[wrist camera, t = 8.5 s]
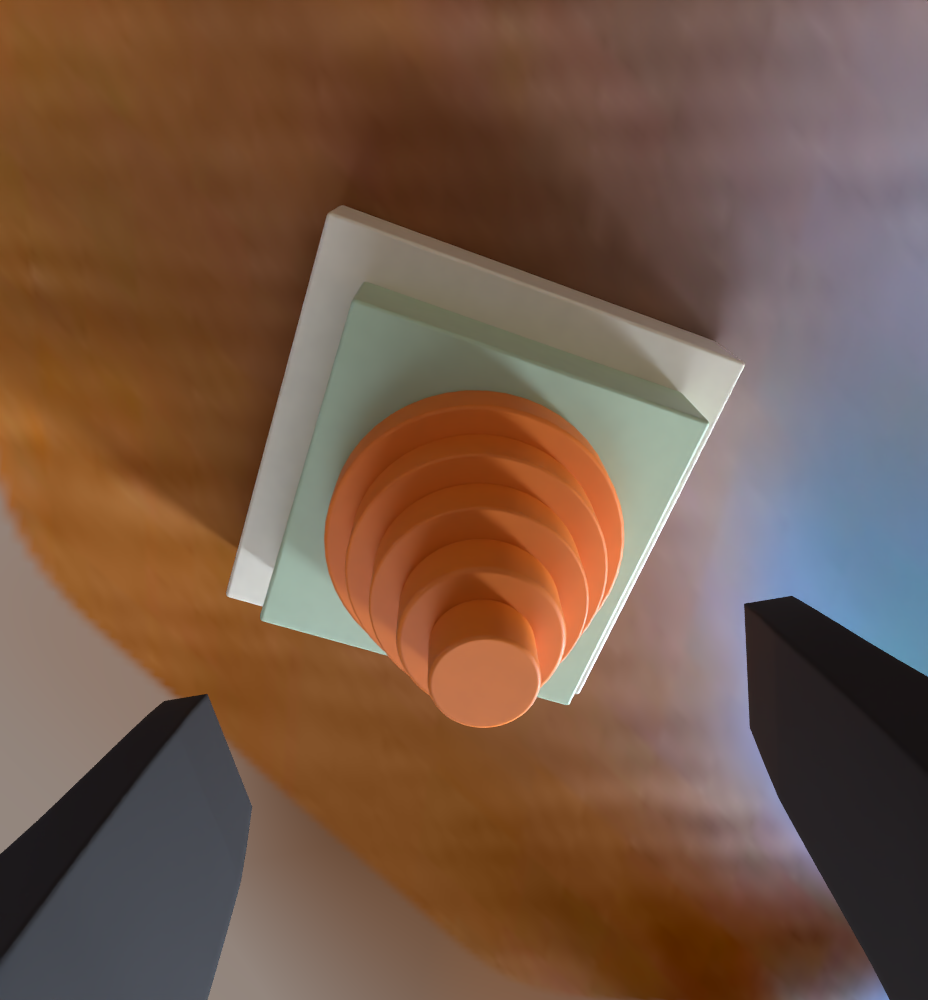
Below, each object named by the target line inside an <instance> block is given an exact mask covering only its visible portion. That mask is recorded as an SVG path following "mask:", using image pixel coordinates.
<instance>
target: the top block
mask: <svg viewBox="0 0 928 1000" xmlns="http://www.w3.org/2000/svg"><path fill="white" fill-rule="evenodd" d="M465 390H480V391H493V392H501V393H507V394H511V395H514V396H518V397H522V398H525V399H528V400H530V401H533V402H535V403H538V404H540V405H542V406H544V407H546V408H548V409H549V410H551V411H553V412H555V413H556V414H558V415H560V416H561V417H562V418H564V419H565V420H566V421H567V422H569V423H570V424H571V425H573V426H574V427H575V428H576V429H577V430H578V431H579V432H580V433H581V434H582V435H583V436H584V437H585V438H586V439H587V440H588V442H589V443H590V445H591V446H592V447H593V449H594V450H595V451H596V453H597V454H598V456H599V458H600V460H601V462H602V464H603V465H604V467H605V469H606V471H607V473H608V475H609V477H610V479H611V481H612V483H613V485H614V487H615V490H616V493H617V496H618V499H619V502H620V505H621V510H622V515H623V521H624V548H623V557H622V561H621V565H620V569H619V573H618V575H617V578H616V580H615V583H614V585H613V588H612V590H611V592H610V594H609V595H608V597H607V599H606V600H605V602H604V604H603V606H602V607H601V608H600V610H599V611H598V612H597V613H596V615H595V616H594V618H593V619H592V621H591V623H590V625H589V626H588V627H587V629H586V630H585V631H584V633H583V634H582V635H581V636H580V638H579V639H578V641H577V642H576V644H575V646H574V648H573V649H572V650H571V651H570V653H569V654H568V655H567V657H566V658H565V659H564V660H563V661H562V662H561V663H560V664H559V665H558V667H557V669H556V670H555V672H554V673H553V675H552V676H551V677H550V679H549V680H548V681H547V682H546V683H545V684H544V685H543V686H542V687H541V688H540V690H539V693H538V695H537V697H539V698H543V699H546V700H550V701H554V702H557V703H561V704H565V705H568V704H569V703H570V701H571V699H572V697H573V695H574V693H575V691H576V689H577V687H578V685H579V684H580V682H581V680H582V678H583V676H584V674H585V672H586V670H587V668H588V666H589V664H590V662H591V660H592V658H593V656H594V654H595V652H596V650H597V648H598V646H599V644H600V642H601V640H602V638H603V636H604V634H605V632H606V630H607V628H608V626H609V624H610V622H611V620H612V618H613V616H614V614H615V612H616V610H617V608H618V606H619V604H620V602H621V600H622V598H623V596H624V594H625V592H626V590H627V588H628V586H629V584H630V582H631V580H632V578H633V576H634V574H635V572H636V570H637V568H638V566H639V564H640V562H641V560H642V558H643V556H644V554H645V552H646V550H647V548H648V546H649V544H650V542H651V540H652V538H653V536H654V534H655V532H656V530H657V528H658V526H659V524H660V522H661V520H662V518H663V516H664V514H665V512H666V510H667V508H668V506H669V504H670V502H671V500H672V498H673V496H674V494H675V492H676V490H677V488H678V486H679V484H680V482H681V480H682V478H683V476H684V474H685V472H686V470H687V468H688V466H689V464H690V462H691V460H692V458H693V456H694V454H695V452H696V450H697V448H698V446H699V444H700V442H701V440H702V439H703V437H704V435H705V433H706V431H707V429H708V427H709V421H708V420H707V419H706V418H705V417H704V416H703V415H702V414H701V413H700V412H699V411H698V410H697V409H696V408H695V407H694V406H693V404H692V403H691V402H690V401H689V400H688V399H687V398H686V397H685V396H684V395H683V394H682V393H681V392H679V391H676V390H673V389H670V388H667V387H665V386H662V385H659V384H656V383H653V382H650V381H648V380H645V379H642V378H639V377H636V376H633V375H631V374H628V373H625V372H622V371H619V370H616V369H613V368H611V367H608V366H605V365H602V364H599V363H596V362H594V361H591V360H588V359H585V358H582V357H579V356H576V355H574V354H571V353H568V352H565V351H562V350H559V349H557V348H554V347H551V346H548V345H545V344H542V343H540V342H537V341H534V340H531V339H528V338H525V337H522V336H520V335H517V334H514V333H511V332H508V331H505V330H503V329H500V328H497V327H494V326H491V325H488V324H485V323H483V322H480V321H477V320H474V319H471V318H468V317H466V316H463V315H460V314H457V313H454V312H451V311H449V310H446V309H443V308H440V307H437V306H434V305H431V304H429V303H426V302H423V301H420V300H417V299H414V298H412V297H409V296H406V295H403V294H400V293H397V292H394V291H392V290H389V289H386V288H383V287H380V286H377V285H375V284H372V283H369V282H363V284H362V285H361V286H360V288H359V290H358V291H357V293H356V295H355V296H354V298H353V300H352V302H351V305H350V308H349V312H348V315H347V319H346V322H345V325H344V329H343V332H342V336H341V339H340V343H339V346H338V350H337V353H336V356H335V360H334V363H333V367H332V370H331V374H330V377H329V380H328V384H327V387H326V391H325V394H324V398H323V401H322V405H321V408H320V411H319V415H318V418H317V422H316V425H315V429H314V432H313V435H312V439H311V442H310V446H309V449H308V453H307V456H306V460H305V463H304V466H303V470H302V473H301V477H300V480H299V484H298V487H297V490H296V494H295V497H294V501H293V504H292V508H291V511H290V515H289V518H288V521H287V525H286V528H285V532H284V535H283V539H282V542H281V545H280V549H279V552H278V556H277V559H276V563H275V566H274V570H273V573H272V576H271V580H270V583H269V587H268V590H267V594H266V597H265V600H264V604H263V607H262V611H261V614H260V619H261V620H262V621H264V622H268V623H272V624H275V625H279V626H282V627H286V628H290V629H293V630H297V631H301V632H304V633H308V634H311V635H315V636H319V637H322V638H326V639H329V640H333V641H337V642H340V643H344V644H348V645H351V646H355V647H358V648H362V649H366V650H369V651H373V652H376V653H380V654H384V655H387V654H386V653H385V651H383V650H382V649H381V648H380V647H379V646H378V645H377V644H376V643H375V642H374V641H373V640H372V639H371V638H370V636H369V635H368V634H367V633H366V632H365V631H364V630H363V629H362V628H361V626H360V625H359V624H358V623H357V622H356V621H355V620H354V619H353V618H352V616H351V615H350V614H349V612H348V611H347V609H346V608H345V607H344V605H343V604H342V602H341V600H340V598H339V596H338V594H337V593H336V591H335V588H334V586H333V583H332V580H331V578H330V575H329V572H328V567H327V563H326V558H325V547H324V533H325V521H326V517H327V512H328V508H329V504H330V501H331V498H332V494H333V491H334V488H335V485H336V483H337V480H338V478H339V475H340V473H341V470H342V468H343V466H344V465H345V463H346V461H347V459H348V458H349V456H350V454H351V453H352V451H353V450H354V449H355V447H356V446H357V445H358V444H359V442H360V441H361V440H362V439H363V438H364V437H365V436H366V435H367V434H368V433H369V432H370V431H371V430H372V429H373V428H374V427H375V426H376V425H377V424H379V423H380V422H382V421H383V420H384V419H386V418H387V417H388V416H390V415H391V414H393V413H395V412H396V411H398V410H400V409H402V408H404V407H405V406H407V405H409V404H412V403H414V402H417V401H420V400H422V399H425V398H428V397H431V396H435V395H439V394H443V393H449V392H457V391H465ZM387 656H388V655H387Z"/></svg>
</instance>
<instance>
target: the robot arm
mask: <svg viewBox="0 0 928 1000" xmlns="http://www.w3.org/2000/svg"><path fill="white" fill-rule="evenodd" d="M744 608H745V630H746V652H747V674H748V697H749V719H750V729H751V731H752V734H753V736H754V739H755V742H756V744H757V747H758V749H759V752H760V754H761V757H762V759H763V762H764V764H765V767H766V769H767V771H768V774H769V776H770V779H771V781H772V783H773V786H774V788H775V790H776V793H777V795H778V797H779V799H780V801H781V803H782V805H783V807H784V809H785V810H786V812H787V814H788V816H789V818H790V820H791V821H792V823H793V825H794V827H795V829H796V830H797V832H798V834H799V836H800V838H801V839H802V841H803V843H804V845H805V847H806V848H807V850H808V852H809V854H810V856H811V857H812V859H813V861H814V863H815V865H816V866H817V868H818V870H819V872H820V873H821V875H822V877H823V879H824V881H825V882H826V884H827V886H828V888H829V889H830V891H831V893H832V895H833V897H834V898H835V900H836V902H837V904H838V905H839V907H840V909H841V911H842V913H843V914H844V916H845V918H846V920H847V921H848V923H849V925H850V927H851V929H852V930H853V932H854V934H855V936H856V938H857V939H858V941H859V943H860V945H861V946H862V948H863V950H864V952H865V954H866V955H867V957H868V959H869V961H870V962H871V964H872V966H873V968H874V970H875V972H876V974H877V976H878V978H879V980H880V982H881V984H882V986H883V988H884V990H885V991H886V993H887V995H888V997H889V999H890V1000H928V677H927V676H925V675H924V674H922V673H920V672H918V671H917V670H915V669H913V668H911V667H910V666H908V665H906V664H905V663H903V662H901V661H899V660H898V659H896V658H894V657H893V656H891V655H889V654H888V653H886V652H884V651H883V650H881V649H879V648H878V647H876V646H874V645H873V644H871V643H869V642H868V641H866V640H864V639H863V638H861V637H859V636H858V635H856V634H854V633H853V632H851V631H850V630H848V629H846V628H845V627H843V626H841V625H840V624H838V623H837V622H835V621H833V620H832V619H830V618H828V617H827V616H825V615H824V614H822V613H820V612H819V611H817V610H815V609H814V608H812V607H810V606H809V605H807V604H805V603H804V602H802V601H800V600H798V599H797V598H795V597H793V596H788V597H782V598H776V599H770V600H764V601H758V602H752V603H746V604H744ZM251 810H252V805H251V803H250V800H249V798H248V795H247V793H246V790H245V788H244V785H243V783H242V780H241V778H240V775H239V773H238V770H237V767H236V765H235V762H234V760H233V757H232V755H231V752H230V750H229V747H228V745H227V742H226V740H225V737H224V735H223V732H222V730H221V727H220V725H219V722H218V720H217V717H216V715H215V712H214V710H213V707H212V705H211V702H210V700H209V697H208V695H207V694H204V695H198V696H192V697H186V698H180V699H174V700H168V701H164V702H162V703H161V704H160V705H159V706H158V707H156V708H155V709H154V710H153V711H152V712H151V713H149V714H148V715H147V716H146V717H145V718H144V719H143V720H142V721H141V722H140V723H139V724H137V725H136V727H134V728H133V729H132V730H131V731H130V732H129V733H128V734H127V735H126V736H125V737H124V738H123V739H122V740H121V741H120V742H119V743H118V744H117V745H116V746H115V747H113V748H112V750H110V751H109V752H108V753H107V754H106V755H105V756H104V757H103V758H102V759H101V760H100V761H99V762H98V763H97V764H96V765H95V766H94V767H93V768H92V769H91V770H90V771H89V772H88V773H87V774H86V775H85V776H84V777H83V778H82V779H80V780H79V782H77V783H76V784H75V785H74V786H73V787H72V788H71V789H70V790H69V791H68V792H67V793H66V794H65V795H64V796H63V797H62V798H61V799H60V800H59V801H58V802H57V803H56V804H55V805H54V806H53V807H52V808H50V809H49V810H48V811H47V812H46V814H44V815H43V816H42V817H41V818H40V819H39V820H38V821H37V822H36V823H34V824H33V825H32V826H31V827H30V828H29V829H28V830H27V831H26V832H25V833H23V834H22V835H21V836H20V837H19V838H18V839H17V840H16V841H14V842H13V843H12V844H11V845H10V846H9V847H8V848H7V849H6V850H4V851H3V852H2V853H1V854H0V1000H207V999H208V996H209V992H210V989H211V985H212V982H213V979H214V975H215V972H216V968H217V965H218V961H219V958H220V954H221V951H222V947H223V944H224V941H225V937H226V933H227V930H228V926H229V922H230V919H231V915H232V912H233V908H234V905H235V901H236V897H237V894H238V890H239V886H240V882H241V877H242V871H243V866H244V859H245V854H246V847H247V840H248V833H249V825H250V817H251Z"/></svg>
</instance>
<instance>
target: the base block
mask: <svg viewBox="0 0 928 1000" xmlns="http://www.w3.org/2000/svg"><path fill="white" fill-rule="evenodd" d="M363 282H369V283H372V284H375V285H377V286H380V287H383V288H386V289H389V290H392V291H394V292H397V293H400V294H403V295H406V296H409V297H412V298H414V299H417V300H420V301H423V302H426V303H429V304H431V305H434V306H437V307H440V308H443V309H446V310H449V311H451V312H454V313H457V314H460V315H463V316H466V317H468V318H471V319H474V320H477V321H480V322H483V323H485V324H488V325H491V326H494V327H497V328H500V329H503V330H505V331H508V332H511V333H514V334H517V335H520V336H522V337H525V338H528V339H531V340H534V341H537V342H540V343H542V344H545V345H548V346H551V347H554V348H557V349H559V350H562V351H565V352H568V353H571V354H574V355H576V356H579V357H582V358H585V359H588V360H591V361H594V362H596V363H599V364H602V365H605V366H608V367H611V368H613V369H616V370H619V371H622V372H625V373H628V374H631V375H633V376H636V377H639V378H642V379H645V380H648V381H650V382H653V383H656V384H659V385H662V386H665V387H667V388H670V389H673V390H676V391H679V392H681V393H682V394H683V395H684V396H685V397H686V398H687V399H688V400H689V401H690V402H691V403H692V404H693V406H694V407H695V408H696V409H697V410H698V411H699V412H700V413H701V414H702V415H703V416H704V417H705V418H706V419H707V420H708V421H709V427H708V429H707V431H706V433H705V435H704V437H703V439H702V440H701V442H700V444H699V446H698V448H697V450H696V452H695V454H694V456H693V458H692V460H691V462H690V464H689V466H688V468H687V470H686V472H685V474H684V476H683V478H682V480H681V482H680V484H679V486H678V488H677V490H676V492H675V494H674V496H673V498H672V500H671V502H670V504H669V506H668V508H667V510H666V512H665V514H664V516H663V518H662V520H661V522H660V524H659V526H658V528H657V530H656V532H655V534H654V536H653V538H652V540H651V542H650V544H649V546H648V548H647V550H646V552H645V554H644V556H643V558H642V560H641V562H640V564H639V566H638V568H637V570H636V572H635V574H634V576H633V578H632V580H631V582H630V584H629V586H628V588H627V590H626V592H625V594H624V596H623V598H622V600H621V602H620V604H619V606H618V608H617V610H616V612H615V614H614V616H613V618H612V620H611V622H610V624H609V626H608V628H607V630H606V632H605V634H604V636H603V638H602V640H601V642H600V644H599V646H598V648H597V650H596V652H595V654H594V656H593V658H592V660H591V662H590V664H589V666H588V668H587V670H586V672H585V674H584V676H583V678H582V680H581V682H580V684H579V685H578V687H577V689H576V691H575V693H574V694H579V693H580V691H581V689H582V687H583V685H584V683H585V681H586V679H587V677H588V675H589V673H590V671H591V669H592V667H593V665H594V663H595V661H596V659H597V657H598V655H599V653H600V651H601V649H602V647H603V645H604V643H605V641H606V639H607V637H608V635H609V633H610V631H611V629H612V627H613V625H614V624H615V622H616V620H617V618H618V616H619V614H620V612H621V610H622V608H623V606H624V604H625V602H626V600H627V598H628V596H629V594H630V592H631V590H632V588H633V586H634V584H635V582H636V580H637V578H638V576H639V574H640V572H641V570H642V568H643V566H644V564H645V562H646V560H647V558H648V556H649V554H650V552H651V550H652V548H653V546H654V544H655V542H656V540H657V538H658V536H659V534H660V532H661V530H662V528H663V526H664V524H665V523H666V521H667V519H668V517H669V515H670V513H671V511H672V509H673V507H674V505H675V503H676V501H677V499H678V497H679V495H680V493H681V491H682V489H683V487H684V485H685V483H686V481H687V479H688V477H689V475H690V473H691V471H692V469H693V467H694V465H695V463H696V461H697V459H698V457H699V455H700V453H701V451H702V449H703V447H704V445H705V443H706V441H707V439H708V437H709V435H710V433H711V431H712V429H713V427H714V425H715V424H716V422H717V420H718V418H719V416H720V414H721V412H722V410H723V408H724V406H725V404H726V402H727V400H728V398H729V396H730V394H731V392H732V390H733V388H734V386H735V384H736V382H737V380H738V378H739V376H740V374H741V372H742V370H743V368H744V365H745V363H744V362H743V361H742V360H740V359H739V358H738V357H736V356H735V355H733V354H732V353H731V352H729V351H728V350H727V349H725V348H724V347H722V346H721V345H720V344H718V343H717V342H716V341H713V340H711V339H708V338H705V337H702V336H700V335H697V334H694V333H691V332H689V331H686V330H683V329H680V328H678V327H675V326H672V325H670V324H667V323H664V322H661V321H659V320H656V319H653V318H650V317H648V316H645V315H642V314H639V313H637V312H634V311H631V310H628V309H626V308H623V307H620V306H618V305H615V304H612V303H609V302H607V301H604V300H601V299H598V298H596V297H593V296H590V295H587V294H585V293H582V292H579V291H577V290H574V289H571V288H568V287H566V286H563V285H560V284H557V283H555V282H552V281H549V280H546V279H544V278H541V277H538V276H535V275H533V274H530V273H527V272H525V271H522V270H519V269H516V268H514V267H511V266H508V265H505V264H503V263H500V262H497V261H494V260H492V259H489V258H486V257H484V256H481V255H478V254H475V253H473V252H470V251H467V250H464V249H462V248H459V247H456V246H453V245H451V244H448V243H445V242H442V241H440V240H437V239H434V238H432V237H429V236H426V235H423V234H421V233H418V232H415V231H412V230H410V229H407V228H404V227H401V226H399V225H396V224H393V223H391V222H388V221H385V220H382V219H380V218H377V217H374V216H371V215H369V214H366V213H363V212H360V211H358V210H355V209H352V208H349V207H347V206H344V205H341V206H339V207H337V208H336V209H334V210H332V211H330V212H329V213H328V214H327V217H326V220H325V224H324V228H323V232H322V235H321V239H320V243H319V247H318V250H317V254H316V258H315V262H314V265H313V269H312V273H311V277H310V280H309V284H308V288H307V292H306V295H305V299H304V303H303V307H302V310H301V314H300V318H299V322H298V325H297V329H296V333H295V336H294V340H293V344H292V348H291V351H290V355H289V359H288V363H287V366H286V370H285V374H284V378H283V381H282V385H281V389H280V393H279V396H278V400H277V404H276V408H275V411H274V415H273V419H272V423H271V426H270V430H269V434H268V438H267V441H266V445H265V449H264V453H263V456H262V460H261V464H260V468H259V471H258V475H257V479H256V483H255V486H254V490H253V494H252V498H251V501H250V505H249V509H248V513H247V516H246V520H245V524H244V528H243V531H242V535H241V539H240V543H239V546H238V550H237V554H236V557H235V561H234V565H233V569H232V572H231V576H230V580H229V584H228V587H227V591H226V594H227V596H228V597H231V598H234V599H238V600H242V601H245V602H249V603H252V604H256V605H259V606H263V604H264V600H265V597H266V594H267V590H268V587H269V583H270V580H271V576H272V573H273V570H274V566H275V563H276V559H277V556H278V552H279V549H280V545H281V542H282V539H283V535H284V532H285V528H286V525H287V521H288V518H289V515H290V511H291V508H292V504H293V501H294V497H295V494H296V490H297V487H298V484H299V480H300V477H301V473H302V470H303V466H304V463H305V460H306V456H307V453H308V449H309V446H310V442H311V439H312V435H313V432H314V429H315V425H316V422H317V418H318V415H319V411H320V408H321V405H322V401H323V398H324V394H325V391H326V387H327V384H328V380H329V377H330V374H331V370H332V367H333V363H334V360H335V356H336V353H337V350H338V346H339V343H340V339H341V336H342V332H343V329H344V325H345V322H346V319H347V315H348V312H349V308H350V305H351V302H352V300H353V298H354V296H355V295H356V293H357V291H358V290H359V288H360V286H361V285H362V284H363Z"/></svg>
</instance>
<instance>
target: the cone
mask: <svg viewBox="0 0 928 1000" xmlns="http://www.w3.org/2000/svg"><path fill="white" fill-rule="evenodd" d="M324 547H325V558H326V563H327V567H328V572H329V575H330V578H331V580H332V583H333V586H334V588H335V591H336V593H337V594H338V596H339V598H340V600H341V602H342V604H343V605H344V607H345V608H346V609H347V611H348V612H349V614H350V615H351V616H352V618H353V619H354V620H355V621H356V622H357V623H358V624H359V625H360V626H361V628H362V629H363V630H364V631H365V632H366V633H367V634H368V635H369V636H370V638H371V639H372V640H373V641H374V642H375V643H376V644H377V645H378V646H379V647H380V648H381V649H382V650H383V651H385V653H386V654H387V655H388V657H389V658H390V659H391V660H392V661H393V662H394V663H395V664H396V665H397V666H398V667H399V668H400V669H401V670H402V671H404V672H405V673H406V674H407V675H409V676H410V678H411V679H412V681H413V682H414V683H415V684H416V685H417V686H418V687H419V688H420V689H422V690H423V691H424V692H425V693H427V694H428V695H430V696H431V698H432V700H433V702H434V703H435V705H436V706H437V707H438V709H439V710H440V711H441V712H442V713H443V714H444V715H446V716H447V717H448V718H450V719H452V720H453V721H455V722H458V723H460V724H463V725H466V726H471V727H479V728H487V727H495V726H500V725H503V724H506V723H509V722H511V721H513V720H515V719H517V718H518V717H520V716H521V715H522V714H524V713H525V712H526V711H527V710H528V709H529V708H530V707H531V705H532V704H533V703H534V701H535V699H536V697H537V695H538V693H539V690H540V688H541V687H542V686H543V685H544V684H545V683H546V682H547V681H548V680H549V679H550V677H551V676H552V675H553V673H554V672H555V670H556V669H557V667H558V665H559V664H560V663H561V662H562V661H563V660H564V659H565V658H566V657H567V655H568V654H569V653H570V651H571V650H572V649H573V648H574V646H575V644H576V642H577V641H578V639H579V638H580V636H581V635H582V634H583V633H584V631H585V630H586V629H587V627H588V626H589V625H590V623H591V621H592V619H593V618H594V616H595V615H596V613H597V612H598V611H599V610H600V608H601V607H602V606H603V604H604V602H605V600H606V599H607V597H608V595H609V594H610V592H611V590H612V588H613V585H614V583H615V580H616V578H617V575H618V573H619V569H620V565H621V561H622V557H623V548H624V521H623V515H622V510H621V505H620V502H619V499H618V496H617V493H616V490H615V487H614V485H613V483H612V481H611V479H610V477H609V475H608V473H607V471H606V469H605V467H604V465H603V464H602V462H601V460H600V458H599V456H598V454H597V453H596V451H595V450H594V449H593V447H592V446H591V445H590V443H589V442H588V440H587V439H586V438H585V437H584V436H583V435H582V434H581V433H580V432H579V431H578V430H577V429H576V428H575V427H574V426H573V425H571V424H570V423H569V422H567V421H566V420H565V419H564V418H562V417H561V416H560V415H558V414H556V413H555V412H553V411H551V410H549V409H548V408H546V407H544V406H542V405H540V404H538V403H535V402H533V401H530V400H528V399H525V398H522V397H518V396H514V395H511V394H507V393H501V392H493V391H480V390H465V391H457V392H449V393H443V394H439V395H435V396H431V397H428V398H425V399H422V400H420V401H417V402H414V403H412V404H409V405H407V406H405V407H404V408H402V409H400V410H398V411H396V412H395V413H393V414H391V415H390V416H388V417H387V418H386V419H384V420H383V421H382V422H380V423H379V424H377V425H376V426H375V427H374V428H373V429H372V430H371V431H370V432H369V433H368V434H367V435H366V436H365V437H364V438H363V439H362V440H361V441H360V442H359V444H358V445H357V446H356V447H355V449H354V450H353V451H352V453H351V454H350V456H349V458H348V459H347V461H346V463H345V465H344V466H343V468H342V470H341V473H340V475H339V478H338V480H337V483H336V485H335V488H334V491H333V494H332V498H331V501H330V504H329V508H328V512H327V517H326V521H325V533H324Z"/></svg>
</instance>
